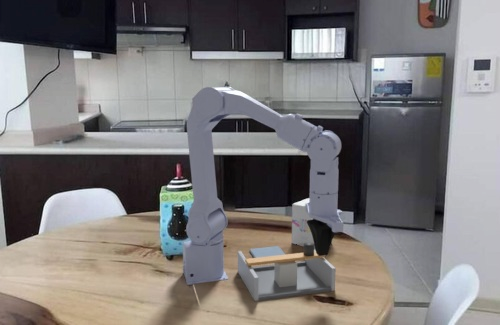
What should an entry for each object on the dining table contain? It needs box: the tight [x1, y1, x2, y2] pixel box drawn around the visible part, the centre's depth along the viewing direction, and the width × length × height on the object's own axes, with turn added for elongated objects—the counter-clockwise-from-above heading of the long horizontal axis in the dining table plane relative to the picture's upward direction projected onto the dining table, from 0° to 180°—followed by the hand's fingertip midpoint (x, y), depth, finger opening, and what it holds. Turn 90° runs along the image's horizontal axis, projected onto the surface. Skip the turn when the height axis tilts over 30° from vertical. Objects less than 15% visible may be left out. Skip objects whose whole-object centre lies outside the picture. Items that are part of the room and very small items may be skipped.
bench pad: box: [249, 245, 286, 258], centre depth 115 cm, size 8×8×1 cm
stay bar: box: [245, 242, 326, 267], centre depth 99 cm, size 18×2×3 cm, turn 105°
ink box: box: [291, 197, 315, 249], centre depth 125 cm, size 9×8×13 cm
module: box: [273, 261, 297, 287], centre depth 100 cm, size 4×4×5 cm
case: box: [237, 248, 337, 302], centre depth 100 cm, size 18×15×6 cm
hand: (322, 254), depth 93 cm, fingers closed
